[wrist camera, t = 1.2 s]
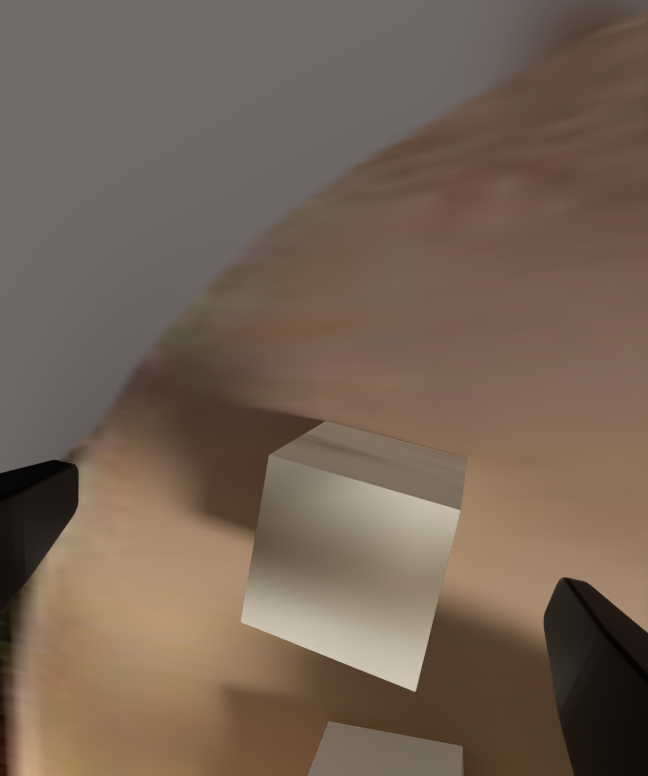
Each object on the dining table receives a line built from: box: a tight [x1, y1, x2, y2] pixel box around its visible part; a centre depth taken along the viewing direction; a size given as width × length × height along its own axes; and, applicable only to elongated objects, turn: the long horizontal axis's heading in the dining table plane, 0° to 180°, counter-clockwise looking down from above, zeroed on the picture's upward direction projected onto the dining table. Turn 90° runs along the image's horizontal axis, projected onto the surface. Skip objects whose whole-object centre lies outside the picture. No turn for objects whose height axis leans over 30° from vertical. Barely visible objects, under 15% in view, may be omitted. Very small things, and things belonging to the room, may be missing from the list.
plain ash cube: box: [241, 421, 467, 692], centre depth 18 cm, size 6×6×6 cm
